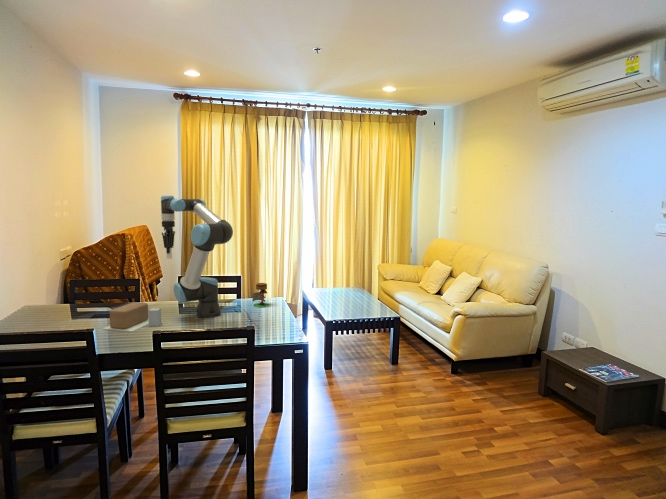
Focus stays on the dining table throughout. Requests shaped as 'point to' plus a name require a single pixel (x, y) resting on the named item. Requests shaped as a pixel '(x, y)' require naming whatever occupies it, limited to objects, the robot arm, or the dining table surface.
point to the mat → (130, 329)
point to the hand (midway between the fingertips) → (169, 258)
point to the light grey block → (154, 316)
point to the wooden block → (128, 315)
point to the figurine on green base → (260, 295)
